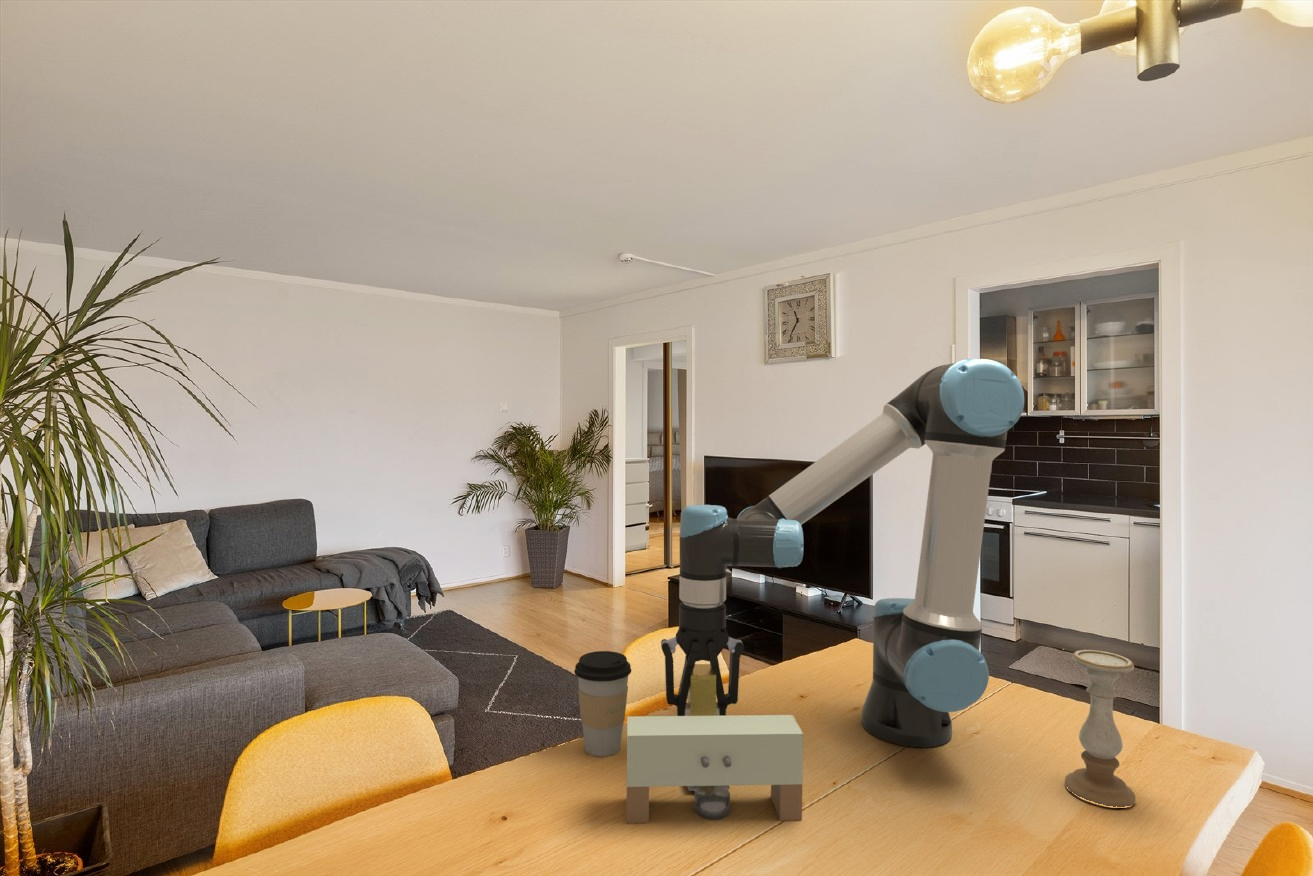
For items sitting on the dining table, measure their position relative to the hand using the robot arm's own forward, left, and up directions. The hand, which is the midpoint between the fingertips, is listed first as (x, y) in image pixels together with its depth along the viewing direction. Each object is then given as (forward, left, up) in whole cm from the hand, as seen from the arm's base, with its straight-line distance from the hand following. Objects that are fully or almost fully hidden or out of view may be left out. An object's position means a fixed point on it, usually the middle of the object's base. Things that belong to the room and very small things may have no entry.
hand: (701, 745), depth 111 cm
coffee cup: (+16, -4, -2) cm, 17 cm away
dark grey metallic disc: (0, +14, -2) cm, 15 cm away
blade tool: (0, +4, -2) cm, 4 cm away
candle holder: (-58, +12, -2) cm, 59 cm away
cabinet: (0, +14, -2) cm, 15 cm away
